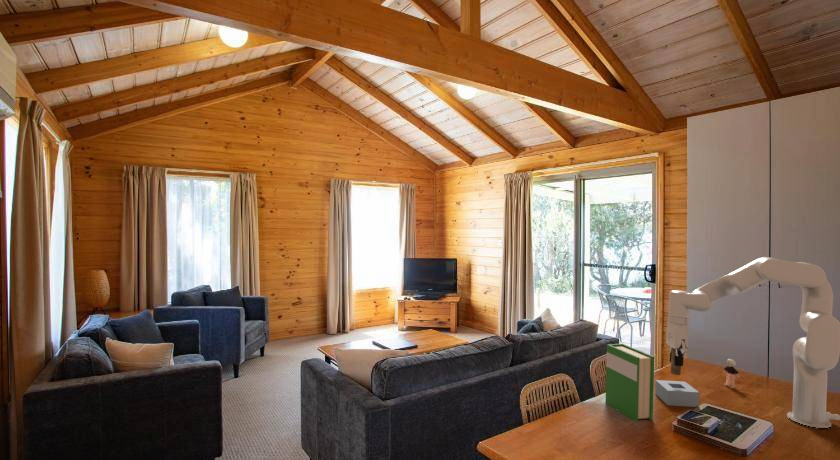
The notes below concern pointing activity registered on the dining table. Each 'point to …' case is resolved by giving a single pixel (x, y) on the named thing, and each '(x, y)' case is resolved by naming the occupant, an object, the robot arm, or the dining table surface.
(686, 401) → the socket block
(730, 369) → the grandmother figurine
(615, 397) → the hardback book
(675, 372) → the peg
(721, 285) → the robot arm
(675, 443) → the dining table surface
